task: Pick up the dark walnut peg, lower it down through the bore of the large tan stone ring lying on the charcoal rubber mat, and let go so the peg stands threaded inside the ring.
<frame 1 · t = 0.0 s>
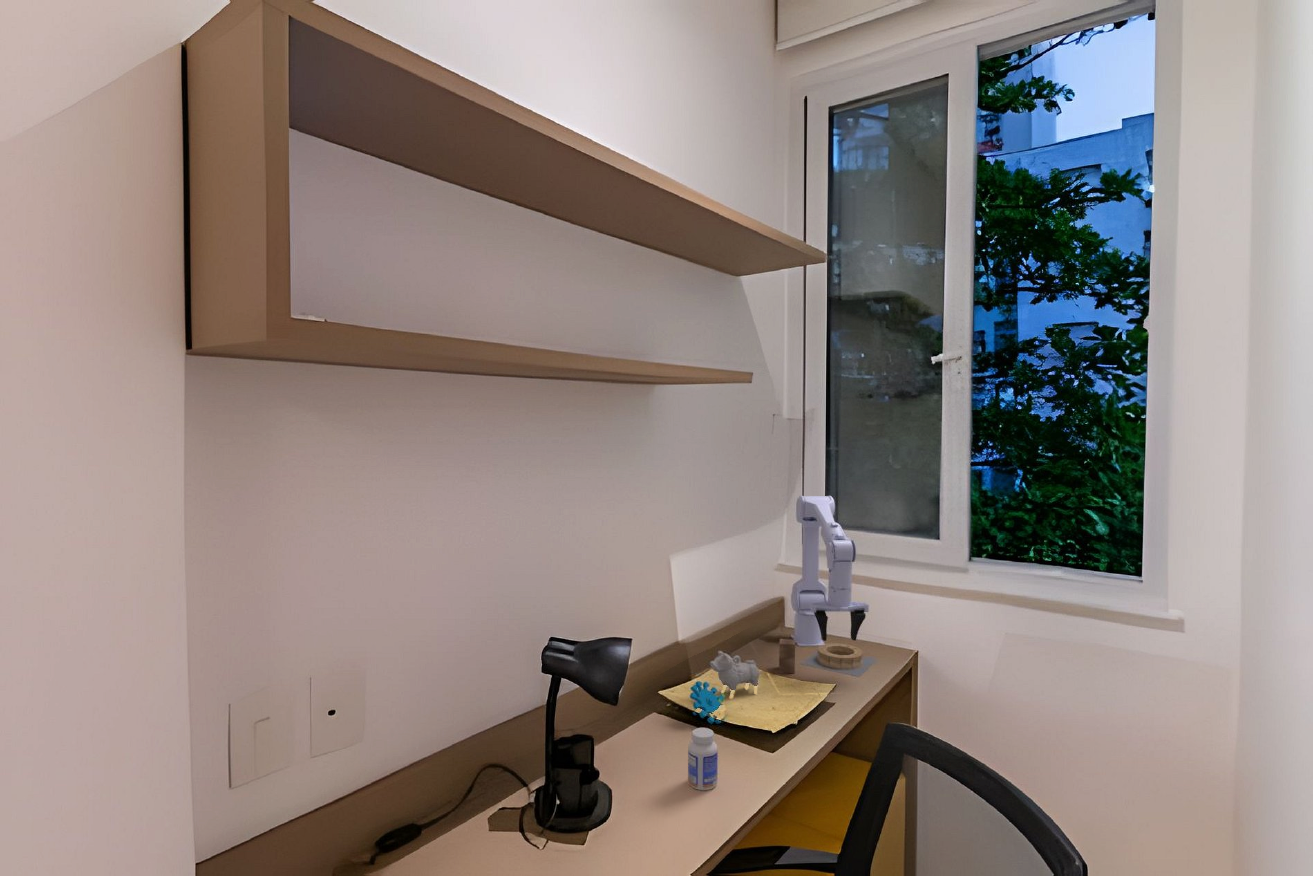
hand: (838, 639, 187), 10 cm above the table, tool pointing down, fingers open, 7 cm apart
blue knobby piece: (709, 719, 163), on the table
walnut peg: (786, 671, 192), on the table
pill bottle: (702, 784, 135), on the table
grey dog figurine: (735, 694, 177), on the table
tan stone ring: (839, 661, 199), resting on craft mat
craft mat: (839, 662, 199), on the table
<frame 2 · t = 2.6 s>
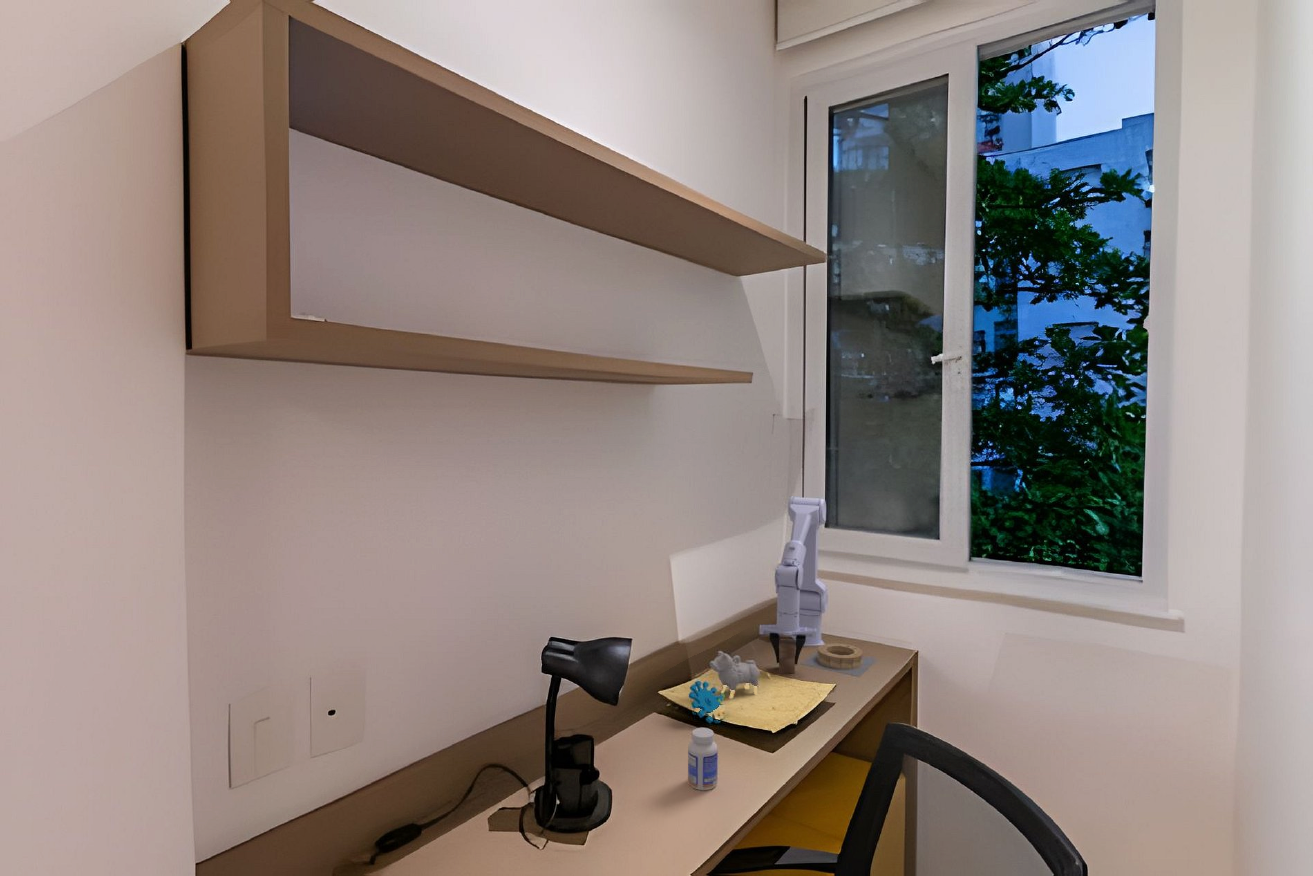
hand: (787, 662, 192), 2 cm above the table, tool pointing down, fingers closed on walnut peg, 4 cm apart
walnut peg: (786, 671, 192), on the table, touching gripper
everything else where it was.
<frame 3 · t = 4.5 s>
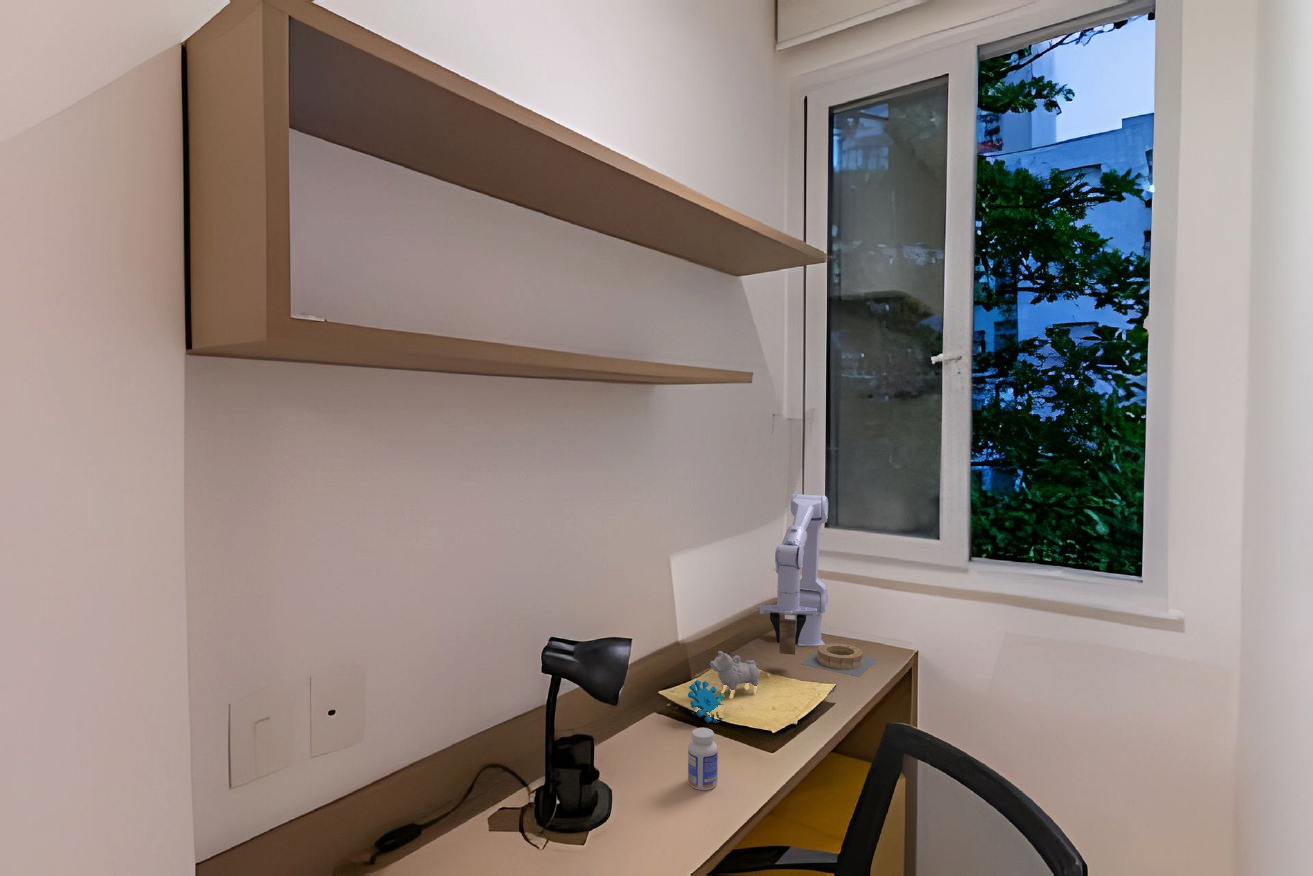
hand: (787, 642, 191), 8 cm above the table, tool pointing down, fingers closed on walnut peg, 4 cm apart
walnut peg: (787, 651, 191), point 5 cm above the table, touching gripper
everything else where it was.
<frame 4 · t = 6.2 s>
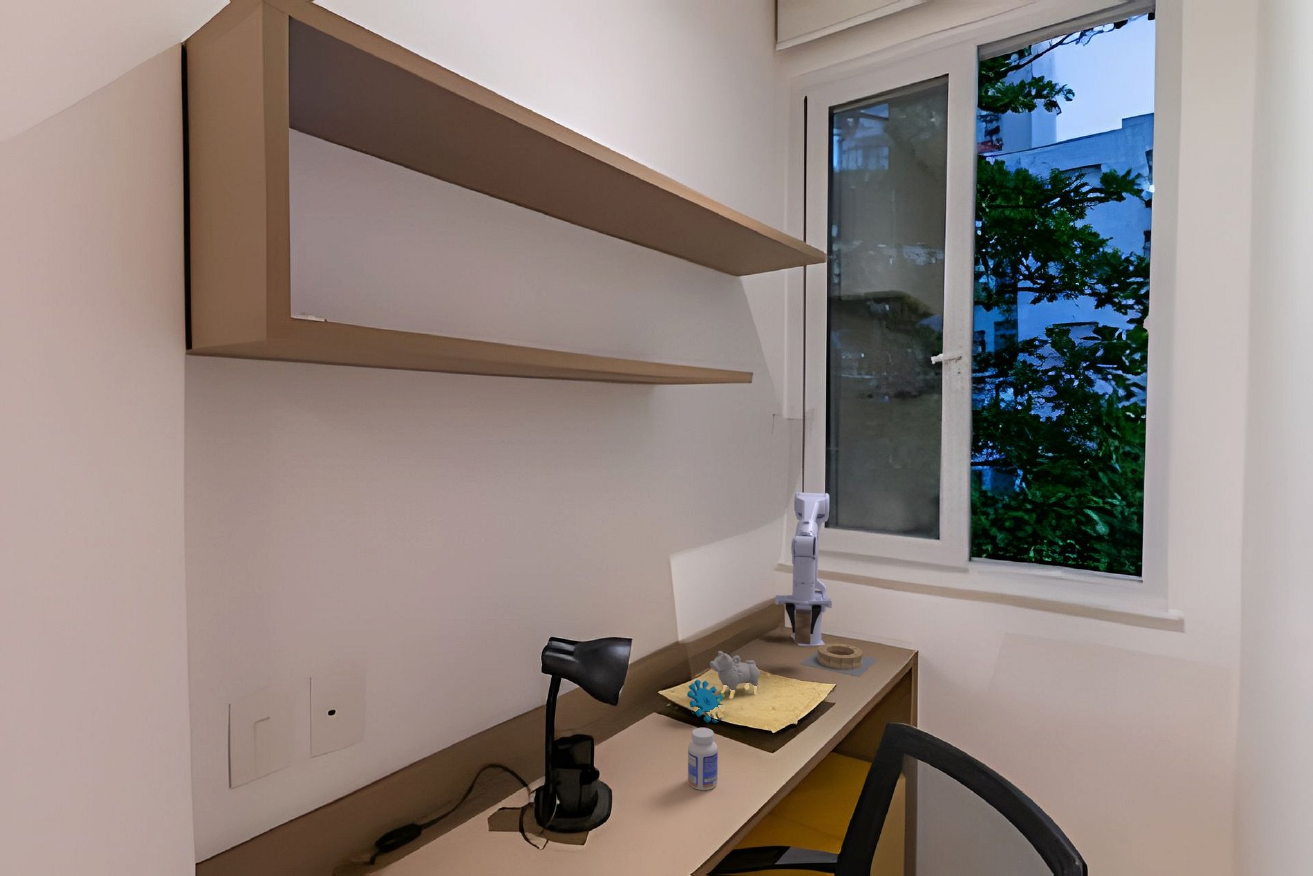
hand: (802, 632, 193), 10 cm above the table, tool pointing down, fingers closed on walnut peg, 4 cm apart
walnut peg: (802, 641, 193), point 7 cm above the table, touching gripper
everything else where it was.
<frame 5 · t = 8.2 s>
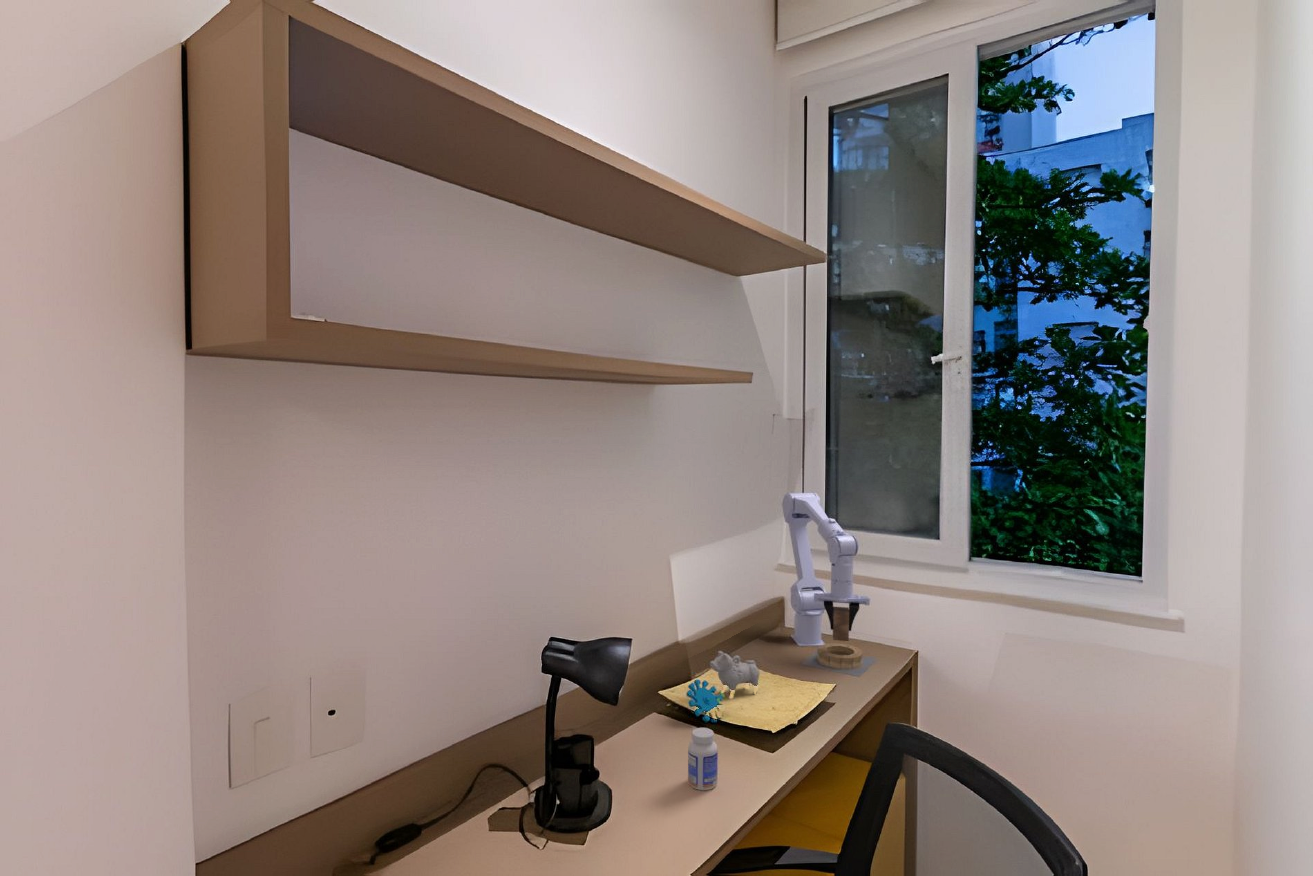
hand: (840, 629, 198), 9 cm above the table, tool pointing down, fingers closed on walnut peg, 4 cm apart
walnut peg: (840, 638, 198), point 7 cm above the table, touching gripper
everything else where it was.
when the fingers open (4 cm above the table, at t = 10.0 s): walnut peg drops 2 cm, resting on craft mat.
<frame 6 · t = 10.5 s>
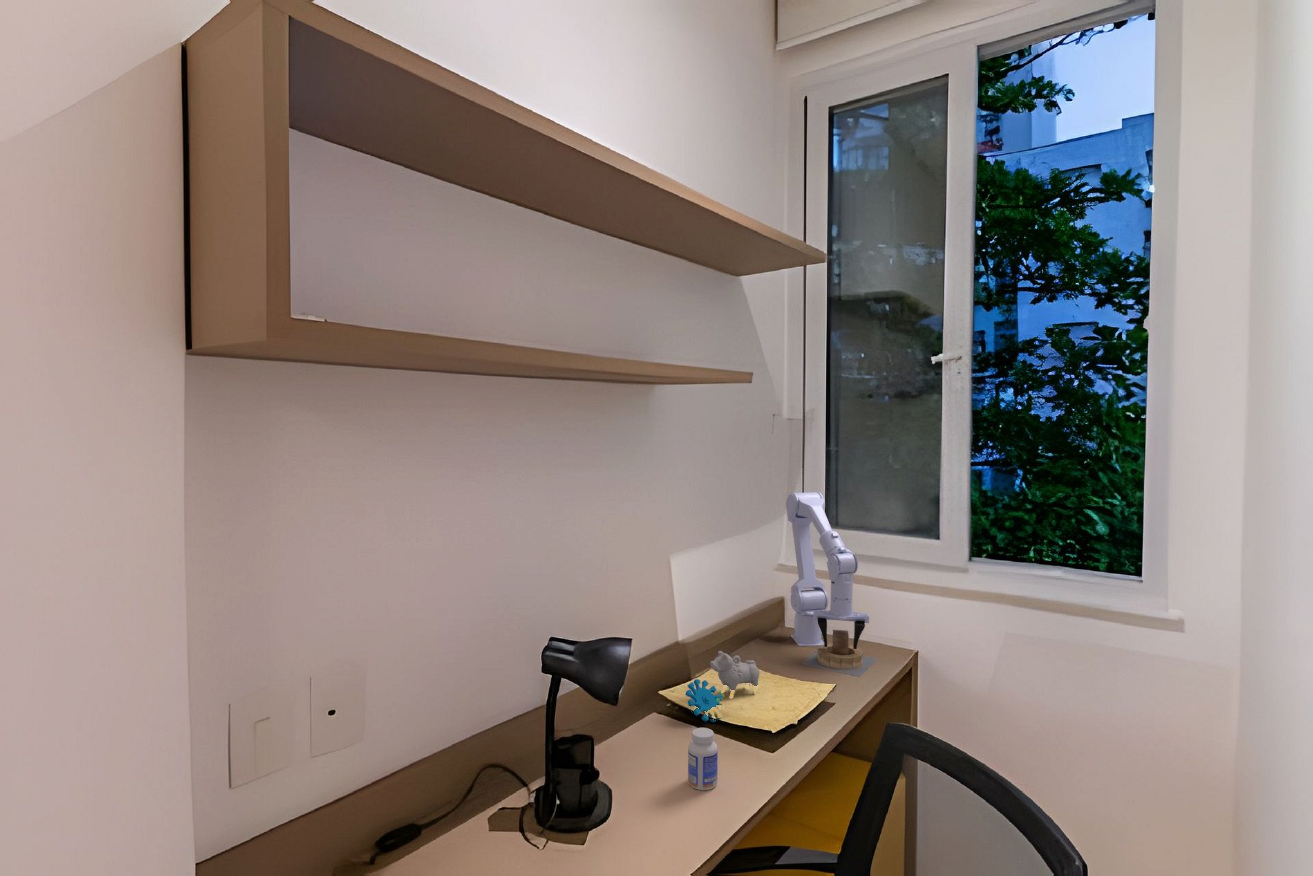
hand: (840, 646, 198), 4 cm above the table, tool pointing down, fingers open, 7 cm apart
walnut peg: (839, 661, 199), resting on craft mat
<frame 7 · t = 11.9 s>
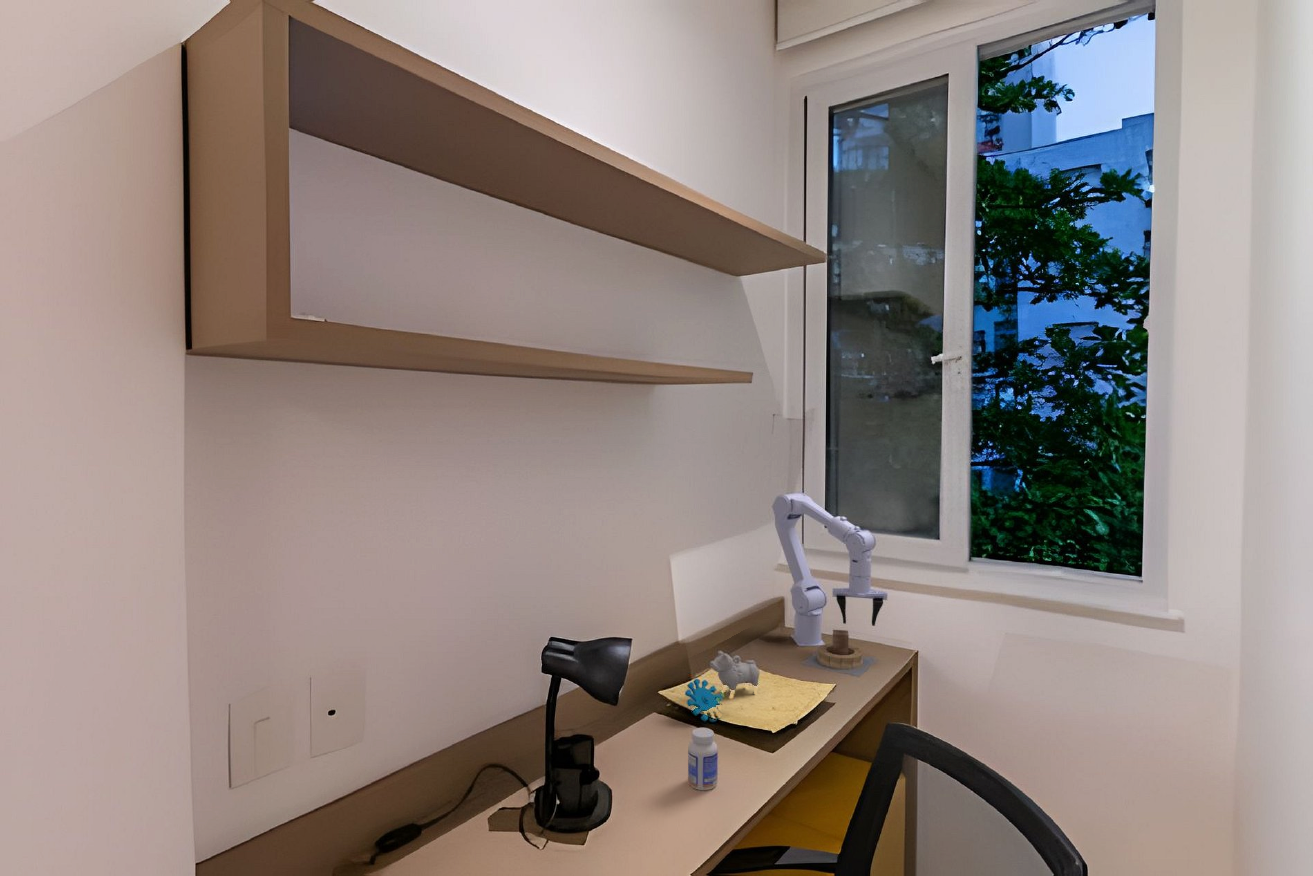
hand: (858, 623, 202), 10 cm above the table, tool pointing down, fingers open, 7 cm apart
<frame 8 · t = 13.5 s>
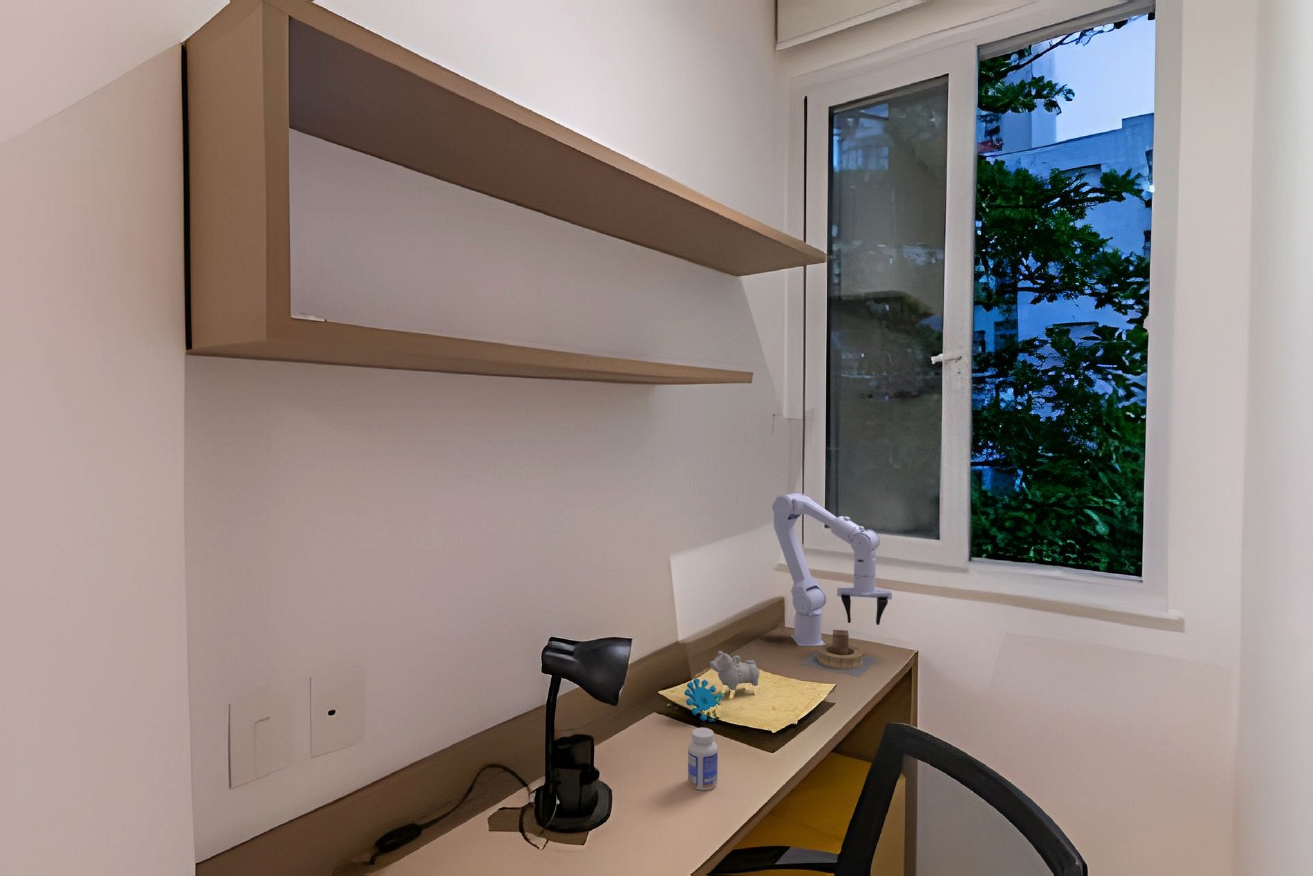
hand: (863, 622, 204), 9 cm above the table, tool pointing down, fingers open, 7 cm apart
at the end: walnut peg 0.0 cm off-centre on the tan stone ring, point 0.0 cm above the tan stone ring's base; walnut peg tilted 0°; the gripper is holding nothing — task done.
